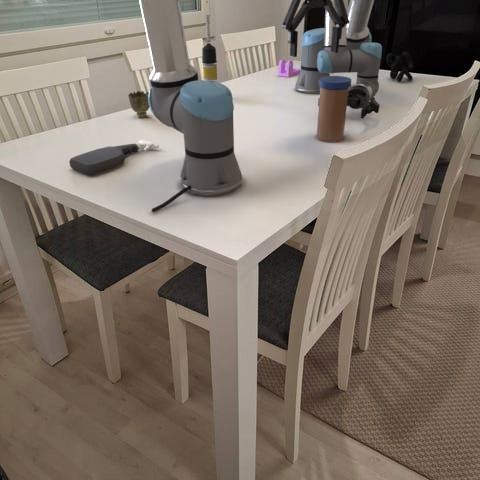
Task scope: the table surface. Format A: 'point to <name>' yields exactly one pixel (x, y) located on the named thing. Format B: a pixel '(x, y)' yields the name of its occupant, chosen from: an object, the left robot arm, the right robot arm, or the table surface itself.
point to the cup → (139, 102)
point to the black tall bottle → (209, 57)
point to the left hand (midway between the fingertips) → (314, 54)
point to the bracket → (287, 69)
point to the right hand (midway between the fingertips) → (340, 111)
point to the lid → (335, 82)
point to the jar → (332, 114)
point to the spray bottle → (106, 157)
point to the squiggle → (399, 66)
